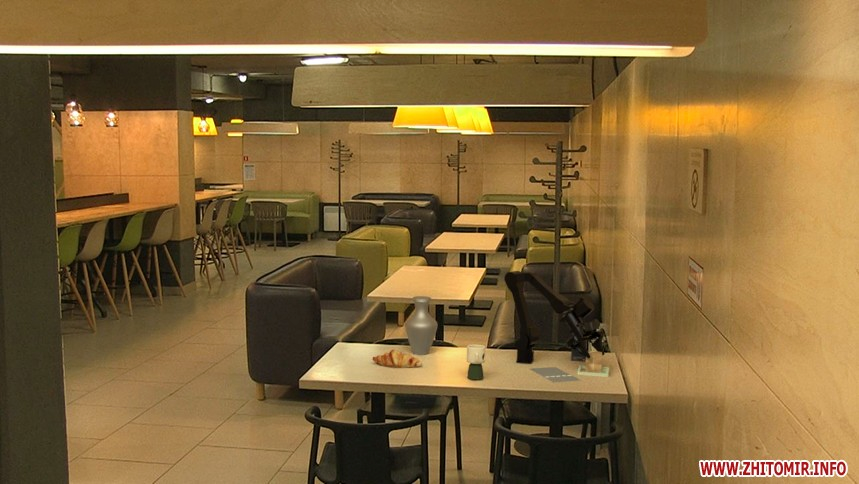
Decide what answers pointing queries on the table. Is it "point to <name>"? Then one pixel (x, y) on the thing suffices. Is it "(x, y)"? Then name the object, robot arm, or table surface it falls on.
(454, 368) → the table surface
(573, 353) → the small box
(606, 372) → the tray
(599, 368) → the stub
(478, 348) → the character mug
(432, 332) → the vase
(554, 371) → the ticket board
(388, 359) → the croissant
